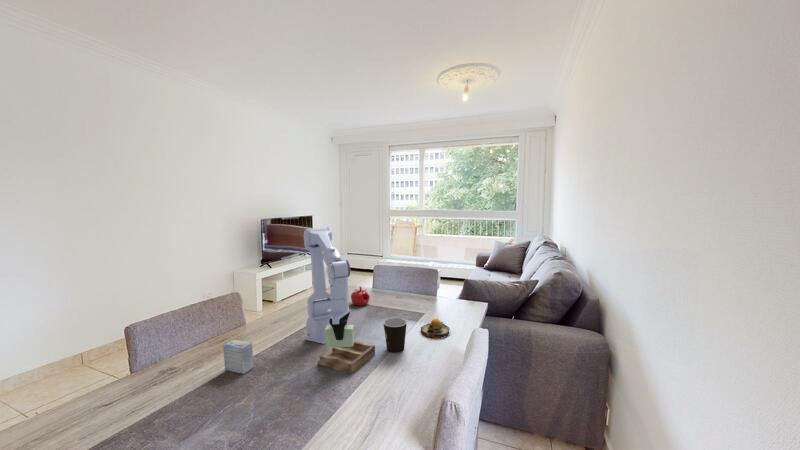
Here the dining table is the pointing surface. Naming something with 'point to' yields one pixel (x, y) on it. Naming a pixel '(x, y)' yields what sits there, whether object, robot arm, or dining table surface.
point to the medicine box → (238, 356)
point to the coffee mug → (395, 334)
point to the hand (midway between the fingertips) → (340, 336)
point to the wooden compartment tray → (348, 357)
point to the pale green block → (332, 342)
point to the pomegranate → (360, 297)
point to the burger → (435, 329)
